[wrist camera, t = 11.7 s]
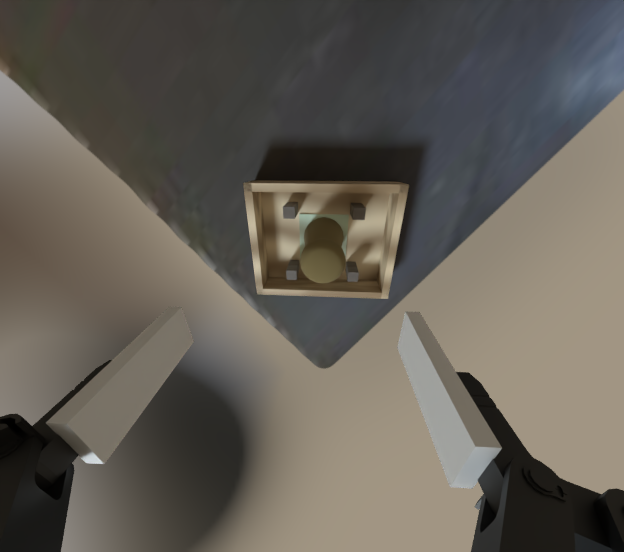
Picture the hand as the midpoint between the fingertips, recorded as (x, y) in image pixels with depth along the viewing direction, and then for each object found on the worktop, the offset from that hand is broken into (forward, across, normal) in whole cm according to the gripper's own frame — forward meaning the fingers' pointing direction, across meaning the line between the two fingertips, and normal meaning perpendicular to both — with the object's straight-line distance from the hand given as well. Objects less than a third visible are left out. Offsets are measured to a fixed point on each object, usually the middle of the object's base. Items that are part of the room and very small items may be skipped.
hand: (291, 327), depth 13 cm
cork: (+22, +2, -2) cm, 23 cm away
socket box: (+23, +2, -2) cm, 24 cm away
